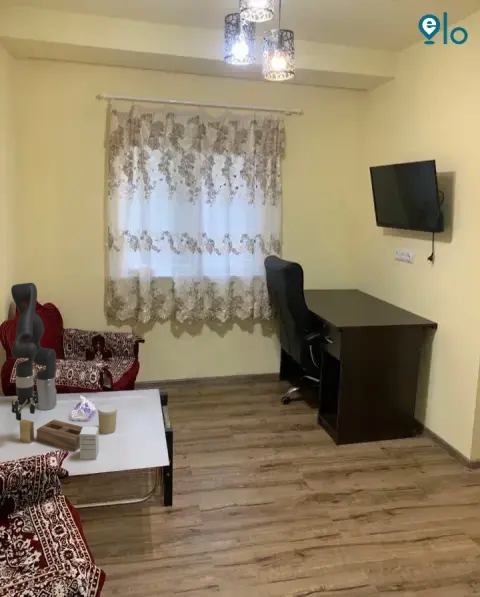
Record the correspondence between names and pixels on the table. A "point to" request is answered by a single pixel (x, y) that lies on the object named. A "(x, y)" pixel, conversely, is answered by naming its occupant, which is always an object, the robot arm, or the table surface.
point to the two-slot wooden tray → (60, 435)
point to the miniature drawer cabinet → (89, 443)
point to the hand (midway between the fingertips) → (25, 416)
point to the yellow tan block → (26, 431)
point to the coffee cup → (107, 419)
